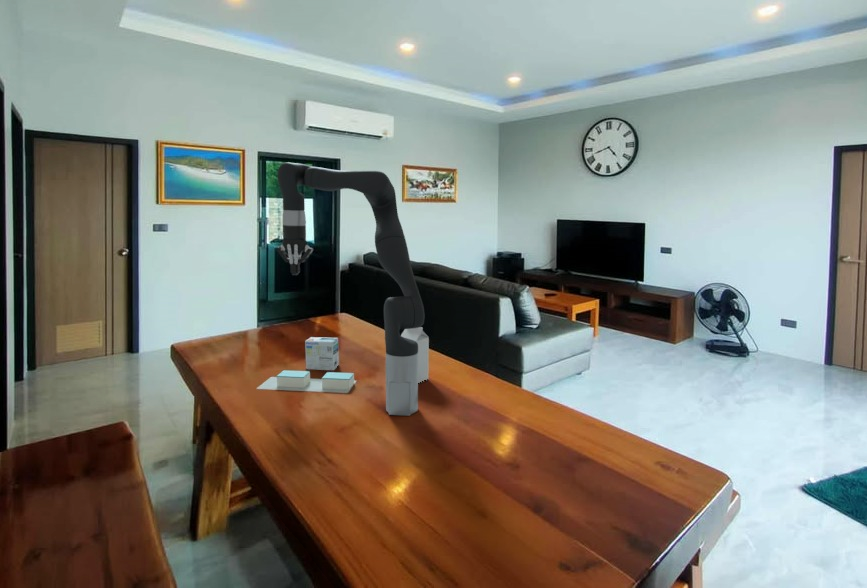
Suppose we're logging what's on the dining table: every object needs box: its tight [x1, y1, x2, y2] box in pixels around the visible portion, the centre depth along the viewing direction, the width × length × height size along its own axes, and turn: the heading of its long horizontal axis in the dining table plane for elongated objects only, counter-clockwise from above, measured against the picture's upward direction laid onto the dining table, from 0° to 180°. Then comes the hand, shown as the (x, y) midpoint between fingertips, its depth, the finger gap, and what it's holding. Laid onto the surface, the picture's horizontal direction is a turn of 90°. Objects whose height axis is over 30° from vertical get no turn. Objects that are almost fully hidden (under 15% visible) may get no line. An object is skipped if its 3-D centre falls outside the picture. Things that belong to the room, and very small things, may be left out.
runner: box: [256, 376, 358, 394], centre depth 170 cm, size 12×30×1 cm, turn 84°
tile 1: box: [276, 370, 311, 388], centre depth 170 cm, size 6×4×9 cm
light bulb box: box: [304, 336, 340, 371], centre depth 188 cm, size 11×7×11 cm, turn 84°
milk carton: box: [400, 326, 430, 384], centre depth 174 cm, size 7×7×19 cm
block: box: [321, 371, 355, 391], centre depth 168 cm, size 6×4×9 cm
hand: (295, 274), depth 177 cm, fingers closed
